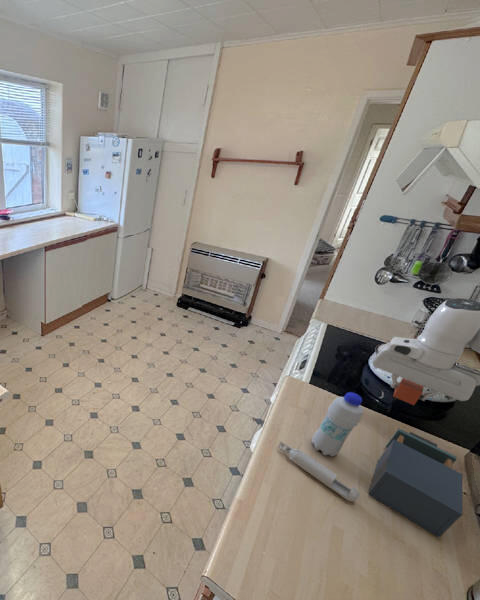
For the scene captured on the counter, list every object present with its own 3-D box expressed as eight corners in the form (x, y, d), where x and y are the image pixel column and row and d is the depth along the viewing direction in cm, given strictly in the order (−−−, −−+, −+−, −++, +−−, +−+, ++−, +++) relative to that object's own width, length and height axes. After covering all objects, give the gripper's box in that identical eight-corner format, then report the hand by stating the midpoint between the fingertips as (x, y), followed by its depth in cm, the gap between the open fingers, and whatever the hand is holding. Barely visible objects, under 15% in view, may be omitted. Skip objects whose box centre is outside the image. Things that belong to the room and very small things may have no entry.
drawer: (388, 436, 95) (400, 419, 92) (442, 463, 88) (457, 446, 85) (378, 472, 84) (391, 454, 81) (439, 507, 76) (456, 489, 73)
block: (394, 389, 98) (402, 377, 96) (415, 398, 95) (423, 386, 93) (392, 396, 95) (400, 384, 93) (413, 405, 92) (422, 393, 90)
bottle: (338, 463, 86) (374, 408, 77) (309, 451, 89) (340, 396, 80) (336, 446, 91) (369, 392, 82) (308, 435, 94) (338, 382, 85)
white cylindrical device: (357, 497, 78) (370, 479, 75) (351, 508, 75) (364, 491, 72) (280, 444, 90) (289, 428, 87) (273, 452, 88) (281, 436, 85)
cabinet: (377, 460, 88) (393, 439, 84) (441, 496, 80) (462, 473, 76) (367, 494, 79) (385, 471, 75) (438, 537, 71) (462, 514, 67)
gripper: (488, 369, 83) (457, 408, 89) (387, 334, 96) (366, 371, 102) (490, 379, 79) (457, 419, 85) (384, 341, 92) (362, 379, 99)
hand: (406, 393), depth 94 cm, fingers closed on block, 4 cm apart
